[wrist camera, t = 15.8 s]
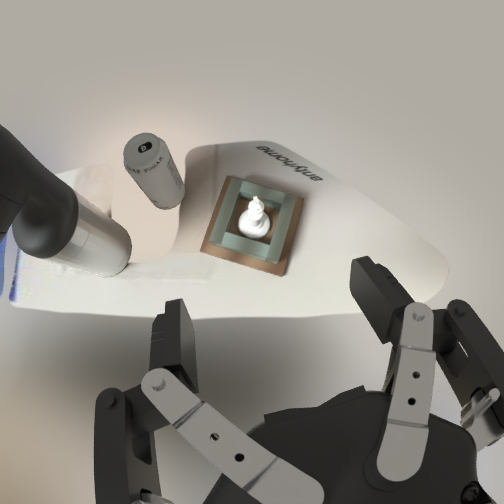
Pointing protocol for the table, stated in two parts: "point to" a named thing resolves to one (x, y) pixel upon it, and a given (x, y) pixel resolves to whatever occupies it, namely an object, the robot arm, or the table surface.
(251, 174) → the table surface
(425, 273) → the table surface
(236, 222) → the socket board
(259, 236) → the chess piece
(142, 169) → the energy drink can
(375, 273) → the robot arm
